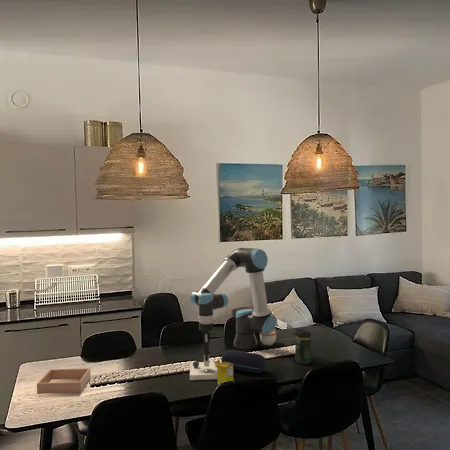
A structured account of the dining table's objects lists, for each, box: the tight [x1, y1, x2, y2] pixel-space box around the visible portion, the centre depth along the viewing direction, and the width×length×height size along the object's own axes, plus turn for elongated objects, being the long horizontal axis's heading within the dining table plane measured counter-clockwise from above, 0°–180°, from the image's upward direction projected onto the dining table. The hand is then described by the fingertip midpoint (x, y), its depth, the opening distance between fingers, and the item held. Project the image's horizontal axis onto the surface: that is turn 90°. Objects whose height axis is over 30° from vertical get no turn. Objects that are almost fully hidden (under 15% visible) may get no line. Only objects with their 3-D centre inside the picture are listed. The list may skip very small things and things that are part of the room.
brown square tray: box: [36, 367, 91, 395], centre depth 241 cm, size 21×20×5 cm
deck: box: [189, 361, 222, 381], centre depth 257 cm, size 20×18×2 cm
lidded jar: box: [259, 330, 277, 346], centre depth 308 cm, size 11×11×9 cm
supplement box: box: [216, 361, 234, 386], centre depth 238 cm, size 6×6×11 cm
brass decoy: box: [213, 359, 221, 366], centre depth 260 cm, size 3×3×3 cm
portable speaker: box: [220, 349, 266, 374], centre depth 260 cm, size 25×10×10 cm, turn 60°
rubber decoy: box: [192, 360, 200, 367], centre depth 258 cm, size 3×3×3 cm
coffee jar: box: [294, 328, 312, 365], centre depth 272 cm, size 10×8×19 cm
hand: (206, 366), depth 256 cm, fingers closed
